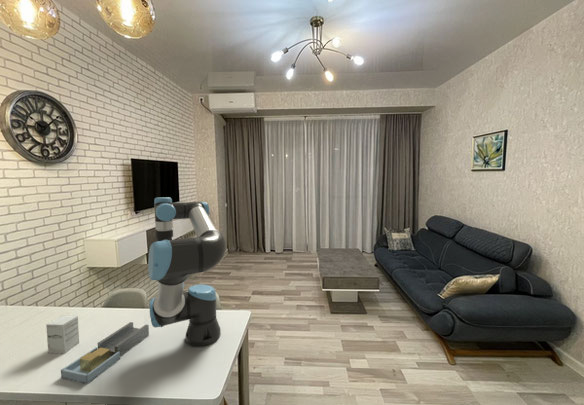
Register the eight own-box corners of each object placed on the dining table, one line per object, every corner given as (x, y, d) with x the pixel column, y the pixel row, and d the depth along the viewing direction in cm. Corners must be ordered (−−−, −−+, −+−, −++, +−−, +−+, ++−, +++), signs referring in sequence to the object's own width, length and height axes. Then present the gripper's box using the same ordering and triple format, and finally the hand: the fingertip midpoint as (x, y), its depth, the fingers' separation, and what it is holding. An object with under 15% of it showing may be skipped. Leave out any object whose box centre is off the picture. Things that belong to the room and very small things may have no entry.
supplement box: (47, 353, 105) (45, 324, 104) (64, 342, 112) (62, 314, 111) (64, 354, 105) (62, 324, 104) (80, 342, 112) (78, 315, 111)
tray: (120, 358, 102) (119, 351, 102) (87, 384, 89) (87, 375, 89) (96, 354, 105) (95, 347, 105) (61, 377, 92) (60, 370, 92)
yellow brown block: (99, 354, 97) (90, 360, 94) (100, 365, 98) (91, 372, 94) (89, 352, 98) (79, 358, 95) (89, 363, 99) (80, 369, 95)
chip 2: (110, 357, 102) (110, 349, 102) (99, 365, 98) (99, 356, 97) (100, 355, 103) (100, 347, 103) (89, 363, 99) (89, 354, 98)
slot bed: (148, 335, 118) (148, 324, 117) (118, 358, 102) (117, 346, 102) (131, 332, 120) (130, 322, 120) (98, 354, 105) (97, 343, 104)
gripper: (166, 226, 129) (168, 272, 131) (147, 231, 116) (149, 282, 118) (180, 227, 127) (181, 273, 129) (161, 232, 115) (163, 283, 117)
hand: (166, 277), depth 124 cm, fingers closed
